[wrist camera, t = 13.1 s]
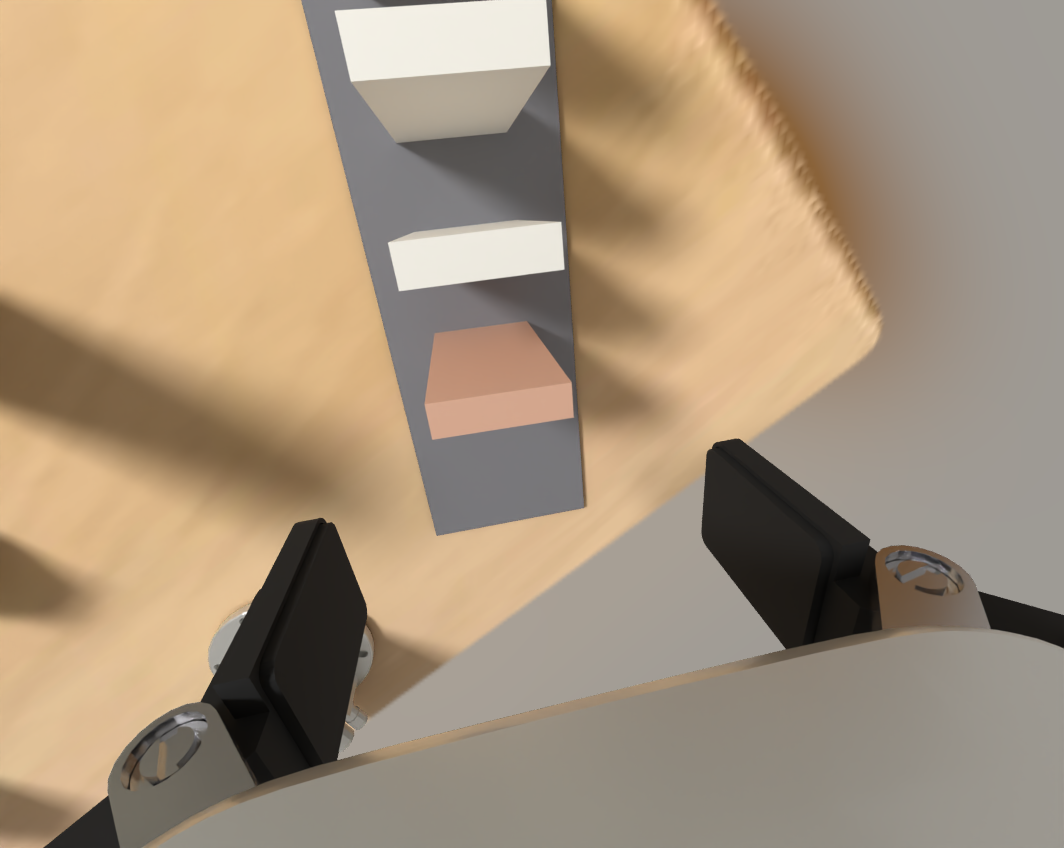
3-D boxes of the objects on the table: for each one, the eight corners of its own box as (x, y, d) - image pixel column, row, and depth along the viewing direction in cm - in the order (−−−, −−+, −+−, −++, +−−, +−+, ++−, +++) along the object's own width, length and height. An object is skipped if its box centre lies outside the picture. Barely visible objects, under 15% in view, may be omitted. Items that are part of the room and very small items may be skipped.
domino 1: (388, 107, 23) (334, 10, 12) (502, 97, 24) (546, -3, 13) (396, 143, 24) (350, 81, 13) (506, 132, 24) (550, 65, 14)
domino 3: (434, 333, 28) (424, 404, 17) (526, 321, 29) (571, 382, 18) (439, 357, 29) (432, 440, 18) (529, 344, 30) (573, 417, 19)
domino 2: (414, 232, 26) (387, 242, 15) (516, 219, 26) (561, 221, 15) (420, 261, 26) (398, 291, 16) (519, 248, 27) (564, 269, 16)
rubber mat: (275, -110, 19) (271, -116, 19) (542, -120, 21) (543, -126, 20) (436, 532, 35) (436, 535, 35) (582, 505, 36) (583, 508, 36)
